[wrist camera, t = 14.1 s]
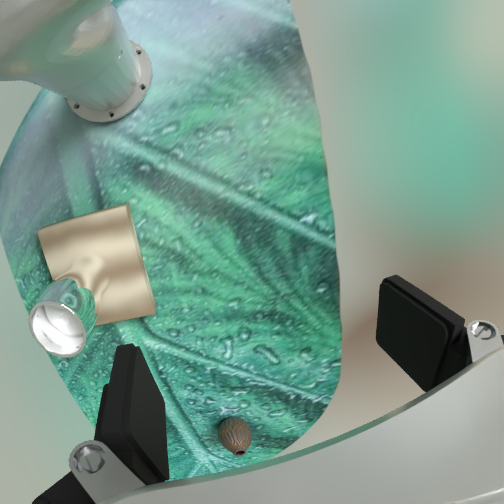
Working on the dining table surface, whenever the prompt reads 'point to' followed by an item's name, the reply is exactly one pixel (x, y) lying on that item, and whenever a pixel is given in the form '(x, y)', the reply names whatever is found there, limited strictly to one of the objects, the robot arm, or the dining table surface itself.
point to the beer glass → (70, 306)
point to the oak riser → (112, 251)
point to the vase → (235, 435)
